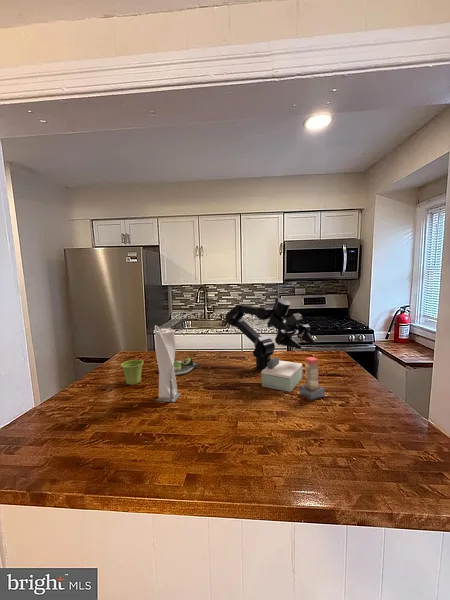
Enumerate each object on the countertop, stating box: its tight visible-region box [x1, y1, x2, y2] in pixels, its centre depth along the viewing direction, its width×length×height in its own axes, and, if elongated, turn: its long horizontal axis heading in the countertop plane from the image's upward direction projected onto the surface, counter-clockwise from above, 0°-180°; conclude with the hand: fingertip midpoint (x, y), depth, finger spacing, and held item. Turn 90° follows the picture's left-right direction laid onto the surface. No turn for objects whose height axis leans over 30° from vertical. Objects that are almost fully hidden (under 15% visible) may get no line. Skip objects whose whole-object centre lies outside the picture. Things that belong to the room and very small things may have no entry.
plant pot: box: [120, 359, 144, 386], centre depth 125 cm, size 9×9×9 cm
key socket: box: [298, 383, 326, 401], centre depth 107 cm, size 6×6×3 cm
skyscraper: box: [154, 324, 182, 403], centre depth 109 cm, size 8×8×28 cm
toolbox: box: [260, 366, 303, 393], centre depth 120 cm, size 12×16×5 cm
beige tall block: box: [304, 356, 319, 391], centre depth 106 cm, size 3×3×14 cm
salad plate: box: [157, 357, 200, 376], centre depth 139 cm, size 19×18×5 cm
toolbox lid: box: [260, 357, 303, 379], centre depth 119 cm, size 12×16×4 cm
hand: (308, 346), depth 116 cm, fingers open, 9 cm apart
